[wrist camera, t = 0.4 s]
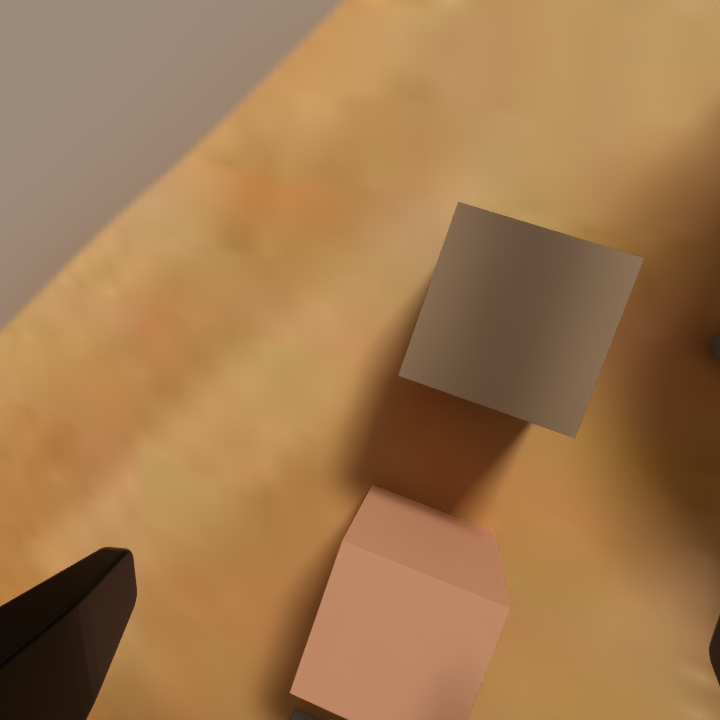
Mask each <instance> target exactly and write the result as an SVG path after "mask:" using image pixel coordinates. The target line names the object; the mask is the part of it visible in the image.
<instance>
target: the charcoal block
mask: <svg viewBox="0 0 720 720" xmlns="http://www.w3.org/2000/svg"><path fill="white" fill-rule="evenodd" d="M291 720H319V719H316V718H314V717H312V716H310V715H308V714H305V713H303V712H301V711H299V710H297V709H295V711H294V713H293V715H292V718H291Z"/></svg>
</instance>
